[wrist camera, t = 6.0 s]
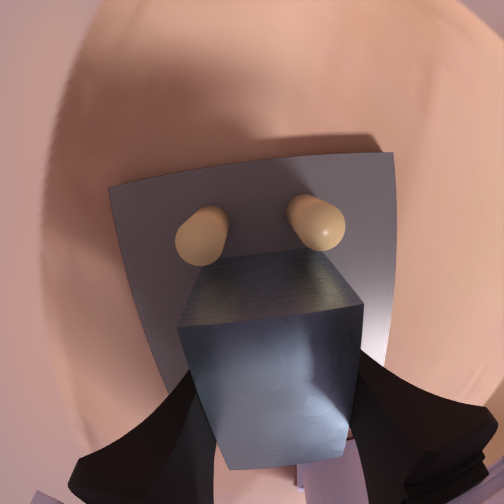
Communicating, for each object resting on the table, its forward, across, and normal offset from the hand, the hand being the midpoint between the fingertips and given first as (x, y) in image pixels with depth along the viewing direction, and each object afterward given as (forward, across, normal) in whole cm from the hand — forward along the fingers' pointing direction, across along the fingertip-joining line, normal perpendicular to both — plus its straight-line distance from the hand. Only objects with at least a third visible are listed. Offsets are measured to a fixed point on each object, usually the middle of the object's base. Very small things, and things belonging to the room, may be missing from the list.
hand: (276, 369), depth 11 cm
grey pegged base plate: (+4, 0, 0) cm, 4 cm away
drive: (+3, 0, 0) cm, 3 cm away
